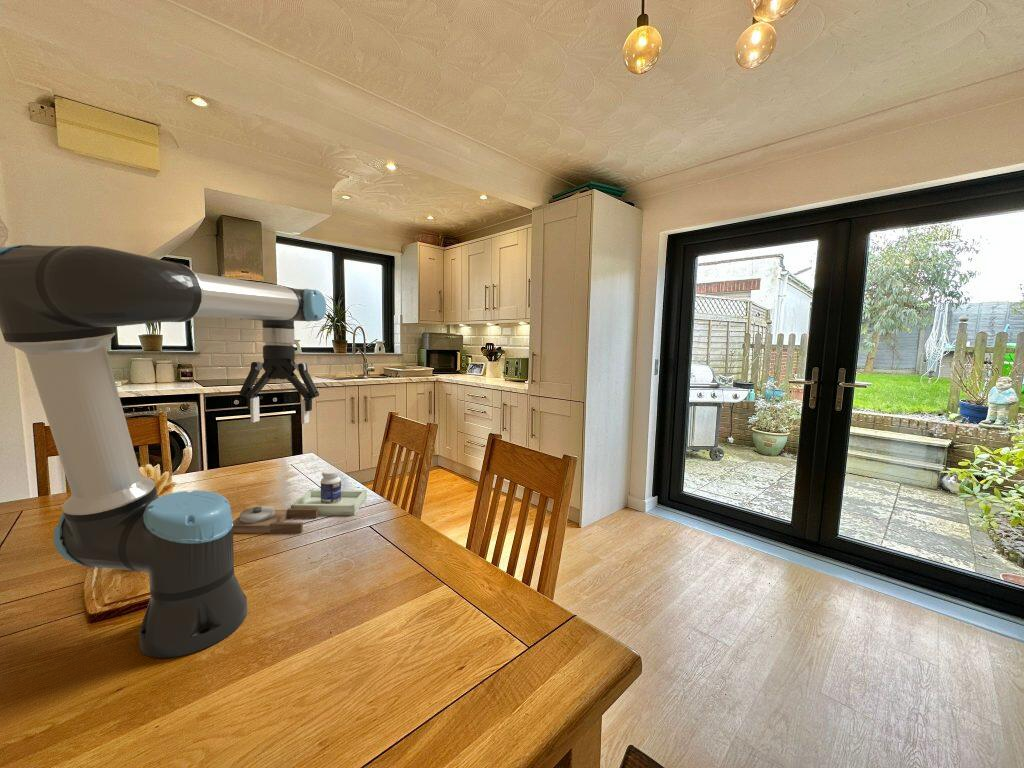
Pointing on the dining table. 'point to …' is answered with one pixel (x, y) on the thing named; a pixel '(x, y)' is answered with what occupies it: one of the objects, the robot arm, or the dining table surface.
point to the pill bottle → (330, 487)
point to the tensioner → (271, 520)
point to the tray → (346, 507)
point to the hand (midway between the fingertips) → (280, 422)
